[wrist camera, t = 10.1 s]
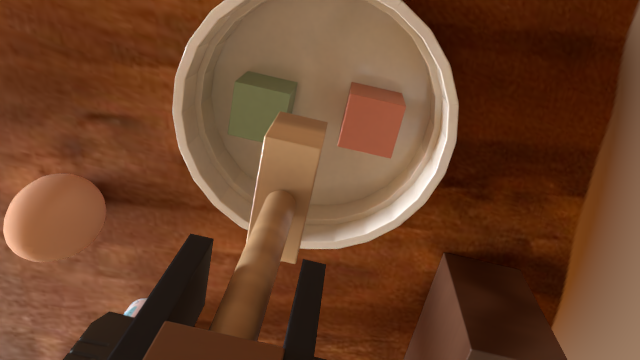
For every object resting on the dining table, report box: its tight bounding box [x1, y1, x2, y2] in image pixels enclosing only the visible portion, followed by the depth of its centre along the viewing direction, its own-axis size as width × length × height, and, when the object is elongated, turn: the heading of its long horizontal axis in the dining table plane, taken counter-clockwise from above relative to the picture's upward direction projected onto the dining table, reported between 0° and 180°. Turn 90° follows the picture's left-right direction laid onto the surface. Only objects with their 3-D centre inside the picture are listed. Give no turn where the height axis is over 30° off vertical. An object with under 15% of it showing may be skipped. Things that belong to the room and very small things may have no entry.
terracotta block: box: [337, 82, 406, 159], centre depth 35 cm, size 4×4×4 cm
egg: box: [3, 173, 106, 262], centre depth 39 cm, size 7×7×9 cm
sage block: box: [228, 71, 298, 143], centre depth 36 cm, size 4×4×4 cm
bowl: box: [172, 0, 459, 249], centre depth 35 cm, size 19×19×6 cm
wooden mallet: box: [143, 111, 328, 360], centre depth 17 cm, size 6×3×17 cm, turn 168°
